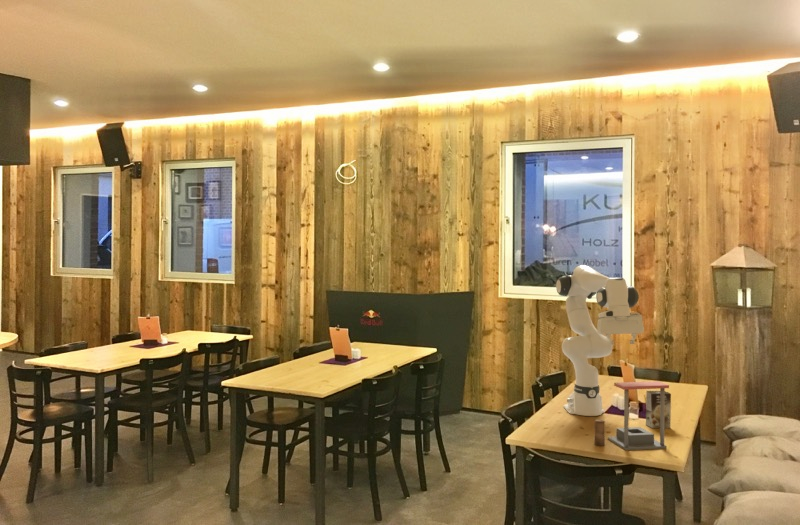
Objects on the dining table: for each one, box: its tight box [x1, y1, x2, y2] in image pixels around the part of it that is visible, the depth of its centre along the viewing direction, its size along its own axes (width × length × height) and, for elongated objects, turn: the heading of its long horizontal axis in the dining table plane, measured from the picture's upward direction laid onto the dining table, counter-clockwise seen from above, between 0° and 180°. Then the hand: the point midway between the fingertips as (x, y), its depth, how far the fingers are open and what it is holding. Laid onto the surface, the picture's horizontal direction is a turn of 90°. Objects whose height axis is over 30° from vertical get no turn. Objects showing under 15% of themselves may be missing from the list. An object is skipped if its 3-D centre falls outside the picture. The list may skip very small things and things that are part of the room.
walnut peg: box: [594, 419, 606, 447], centre depth 259 cm, size 4×4×10 cm
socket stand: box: [607, 380, 670, 451], centre depth 260 cm, size 16×20×26 cm
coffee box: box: [645, 390, 672, 429], centre depth 286 cm, size 9×6×16 cm
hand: (622, 344), depth 271 cm, fingers open, 8 cm apart
